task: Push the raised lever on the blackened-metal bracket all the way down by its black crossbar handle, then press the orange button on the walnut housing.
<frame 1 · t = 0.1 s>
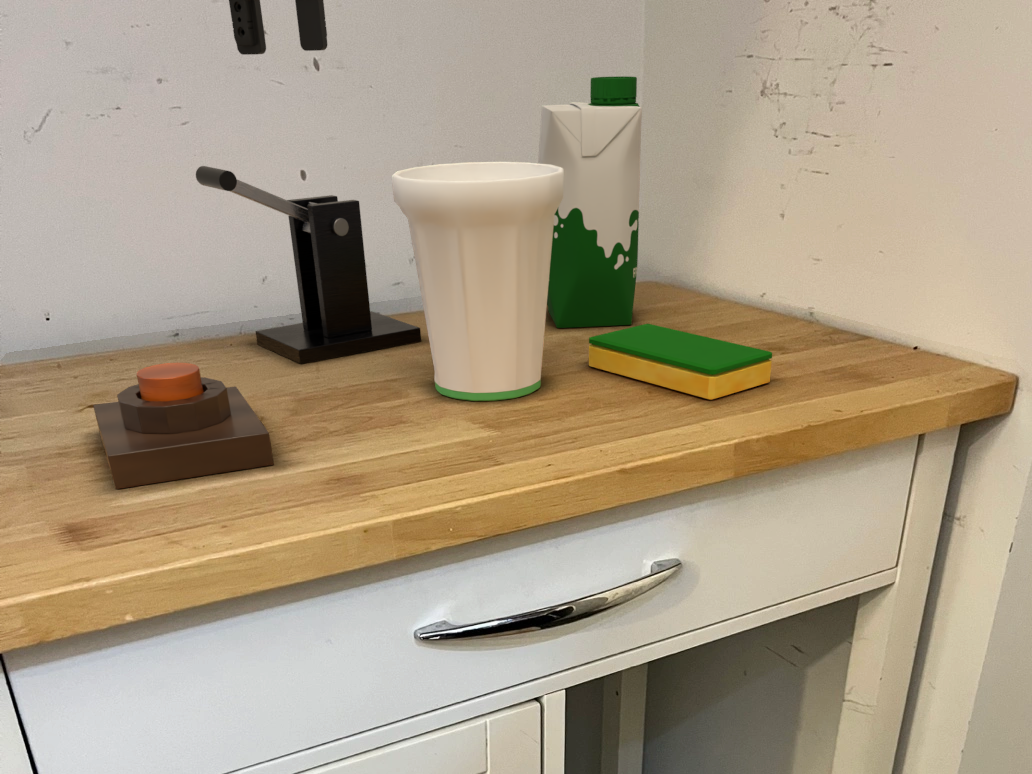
hand: (284, 52, 87), 23 cm above the worktop, tool pointing down, fingers open, 8 cm apart
button: (170, 383, 72), point 4 cm above the worktop, slide at 0.1 cm
dish sponge: (676, 377, 88), on the worktop
bracket: (339, 342, 99), on the worktop
button box: (183, 449, 75), on the worktop
cup: (488, 388, 86), on the worktop
lever: (276, 203, 91), point 12 cm above the worktop, hinge at 25.0°
milk carton: (588, 320, 105), on the worktop
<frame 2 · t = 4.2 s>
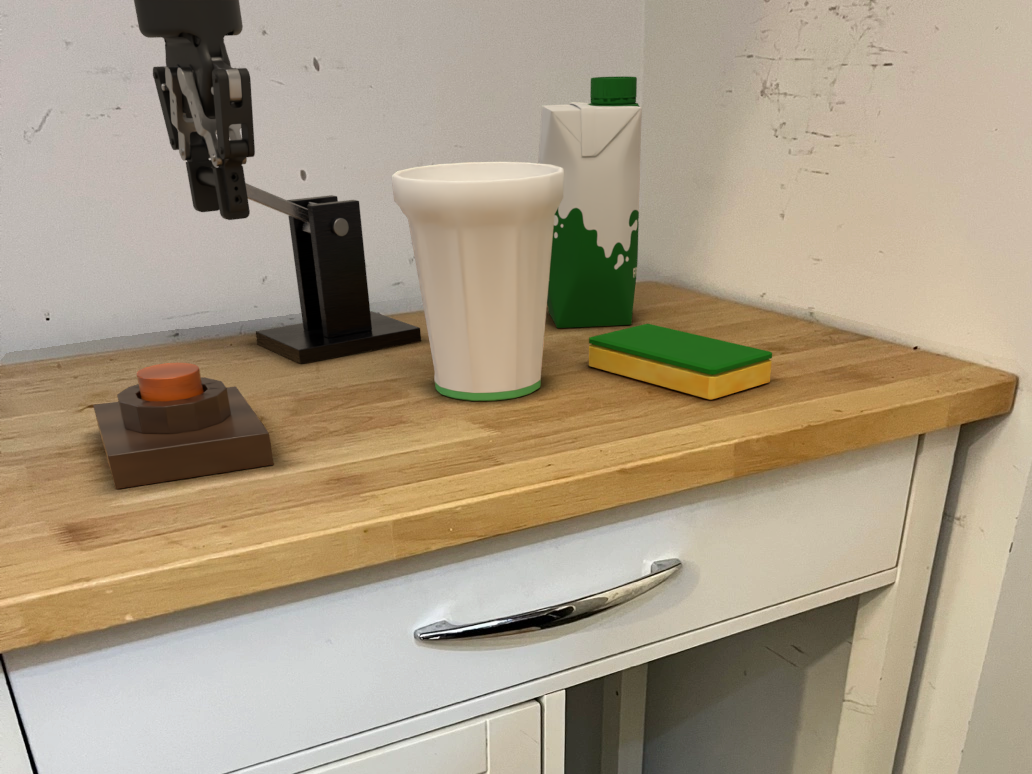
hand: (221, 213, 88), 12 cm above the worktop, tool pointing down, fingers closed on lever, 5 cm apart
lever: (276, 203, 91), point 12 cm above the worktop, hinge at 25.0°, touching gripper
everything else where it was.
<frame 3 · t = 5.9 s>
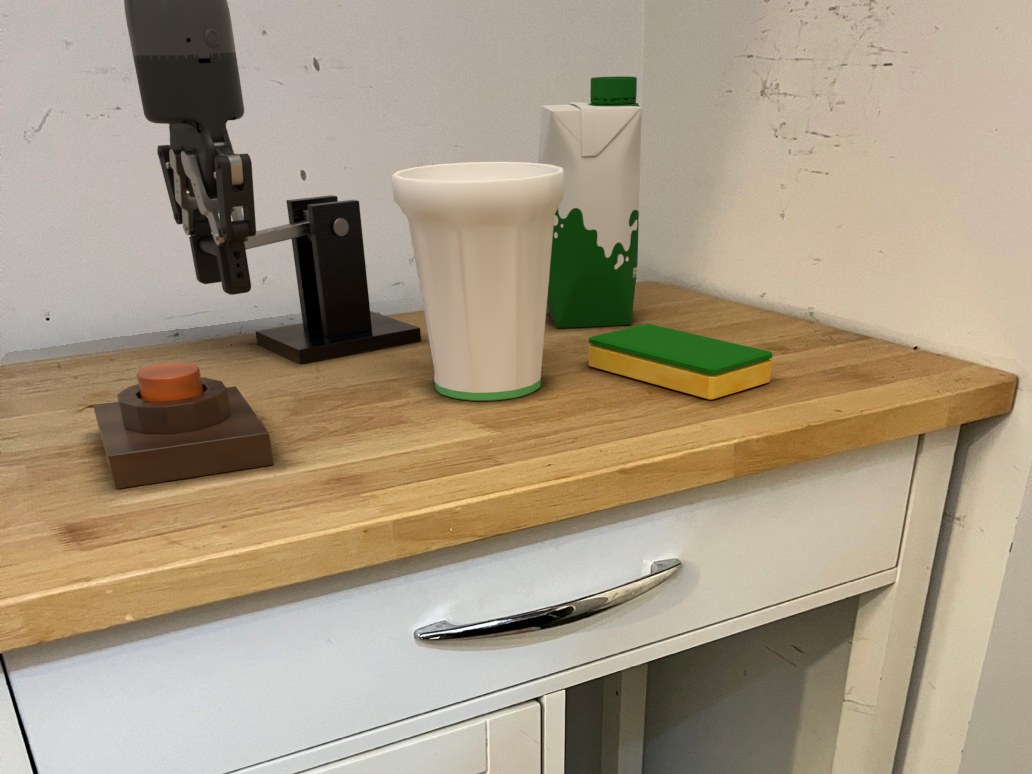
hand: (224, 286, 91), 6 cm above the worktop, tool pointing down, fingers closed on lever, 5 cm apart
lever: (275, 234, 92), point 10 cm above the worktop, hinge at -5.0°, touching gripper
everything else where it was.
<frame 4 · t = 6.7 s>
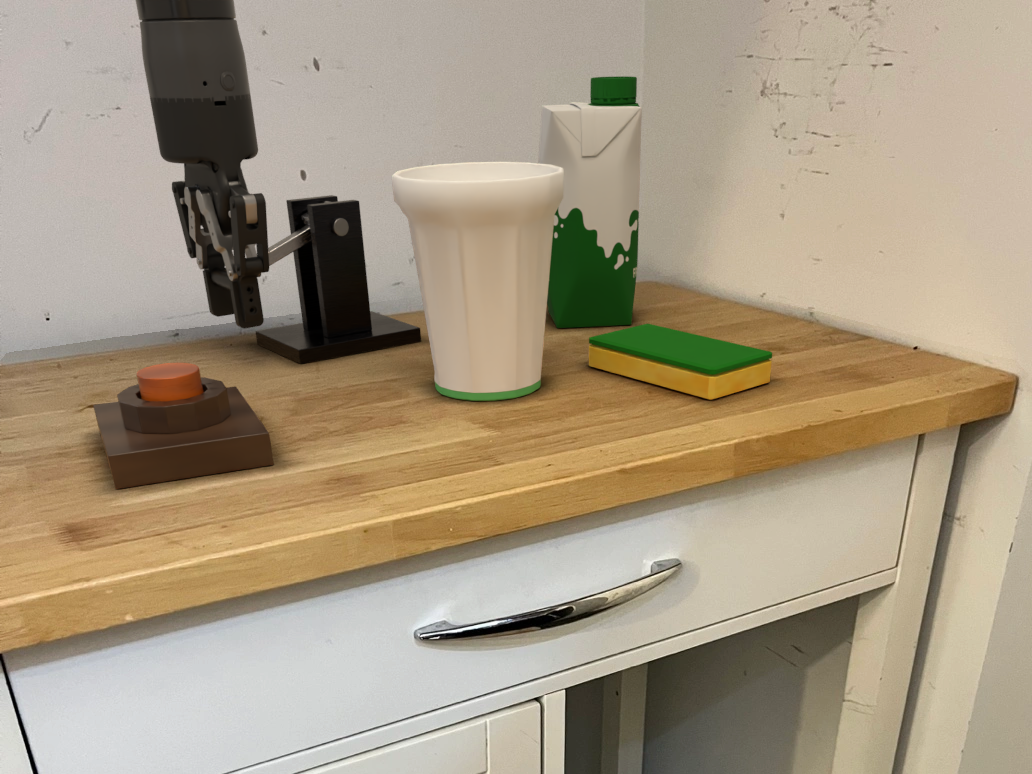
hand: (237, 319, 93), 3 cm above the worktop, tool pointing down, fingers closed on lever, 5 cm apart
lever: (281, 249, 92), point 8 cm above the worktop, hinge at -20.2°, touching gripper
everything else where it was.
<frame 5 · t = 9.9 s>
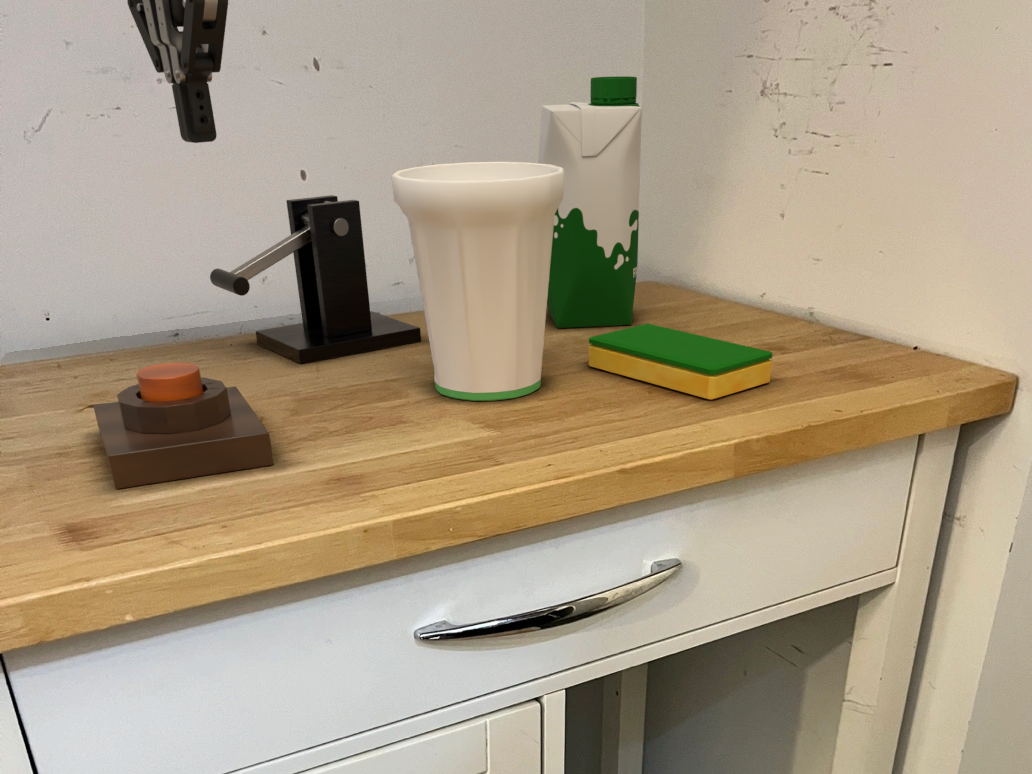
hand: (199, 141, 81), 17 cm above the worktop, tool pointing down, fingers closed
lever: (281, 250, 92), point 8 cm above the worktop, hinge at -20.8°
everything else where it was.
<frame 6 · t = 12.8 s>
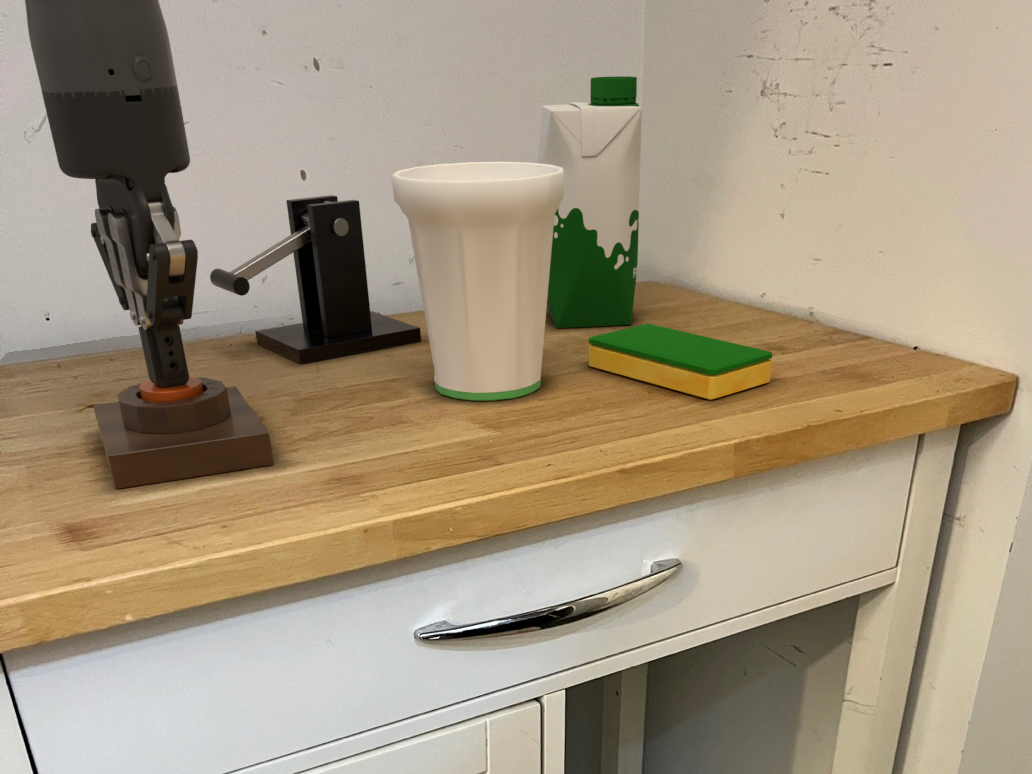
hand: (170, 383, 72), 5 cm above the worktop, tool pointing down, fingers closed
button: (173, 396, 73), point 4 cm above the worktop, slide at -0.8 cm, touching gripper
everything else where it was.
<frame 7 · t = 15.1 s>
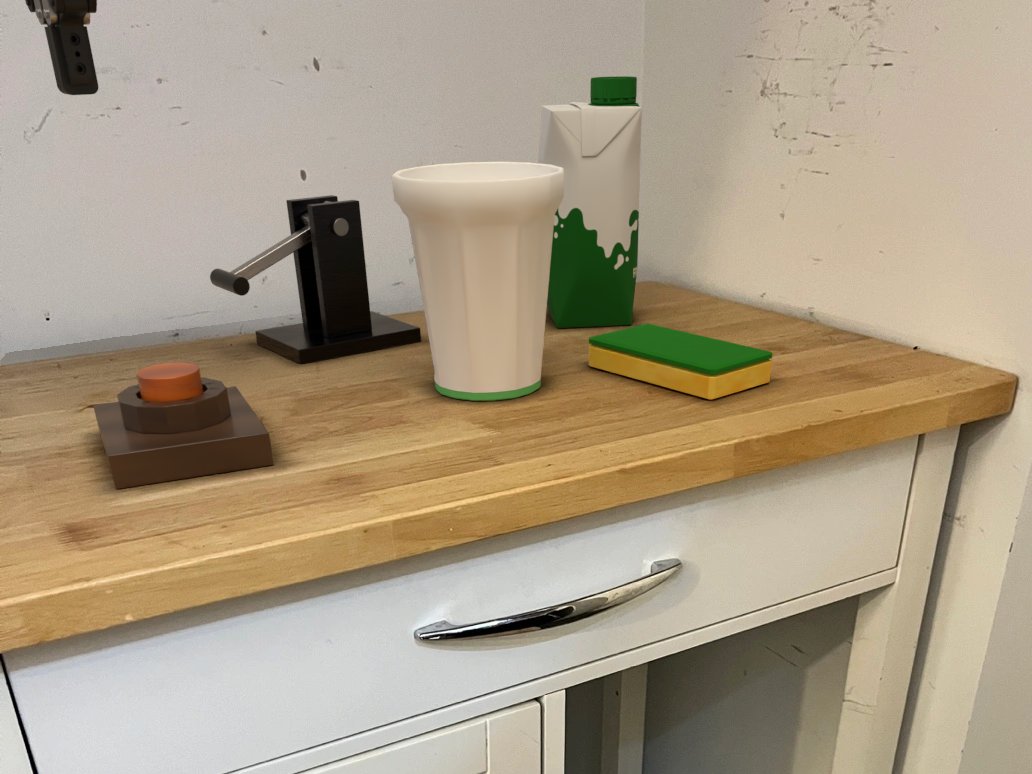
hand: (79, 93, 71), 21 cm above the worktop, tool pointing down, fingers closed
button: (170, 383, 72), point 4 cm above the worktop, slide at 0.1 cm
everything else where it was.
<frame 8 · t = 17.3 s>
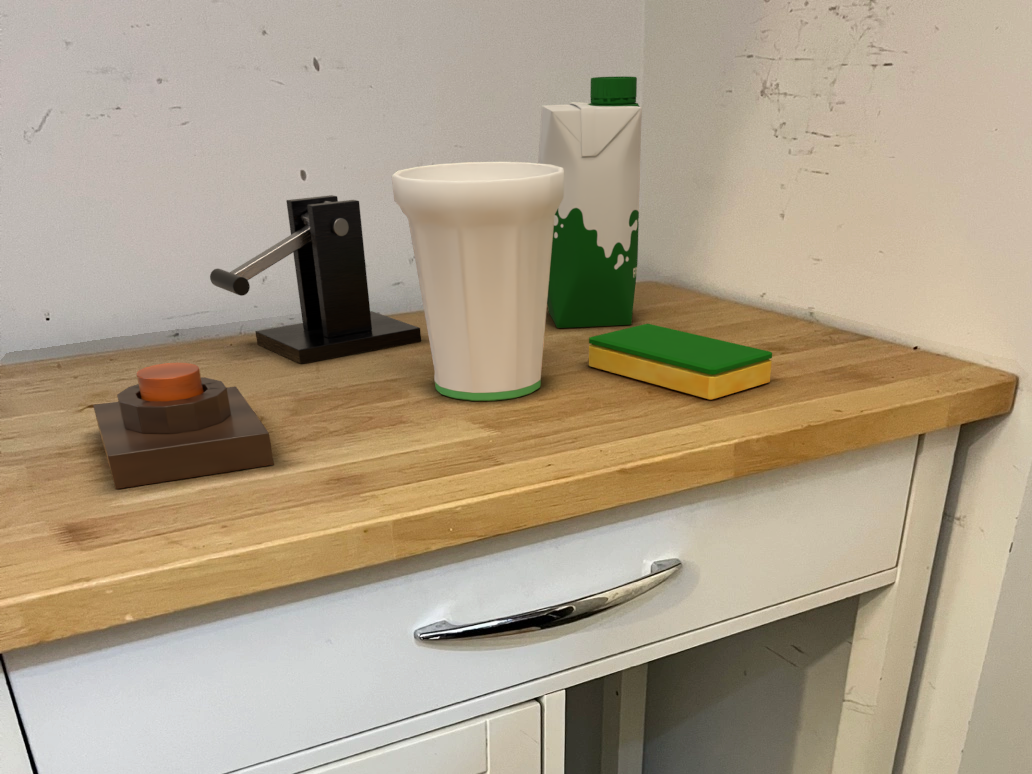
nothing on the worktop moved.
at the end: lever at -21° (first picture: +25°); button pushed in 1.1 cm at the most during the clip, back to where it started at the end; button slide at 0.1 cm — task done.
